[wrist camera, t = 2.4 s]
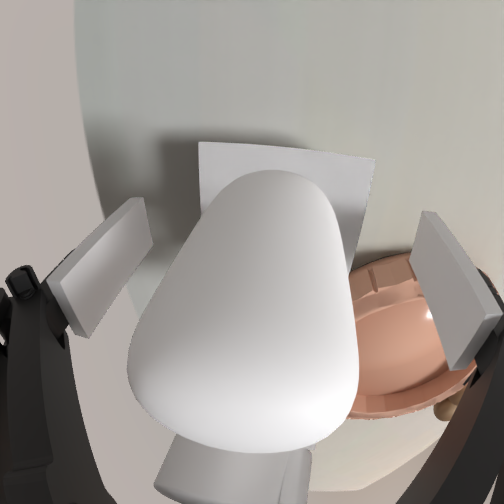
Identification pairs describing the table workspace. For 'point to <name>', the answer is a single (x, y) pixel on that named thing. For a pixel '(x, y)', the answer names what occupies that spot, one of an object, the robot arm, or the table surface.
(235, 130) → the table surface
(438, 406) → the wooden beads
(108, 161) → the table surface
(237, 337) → the figurine
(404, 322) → the dish
